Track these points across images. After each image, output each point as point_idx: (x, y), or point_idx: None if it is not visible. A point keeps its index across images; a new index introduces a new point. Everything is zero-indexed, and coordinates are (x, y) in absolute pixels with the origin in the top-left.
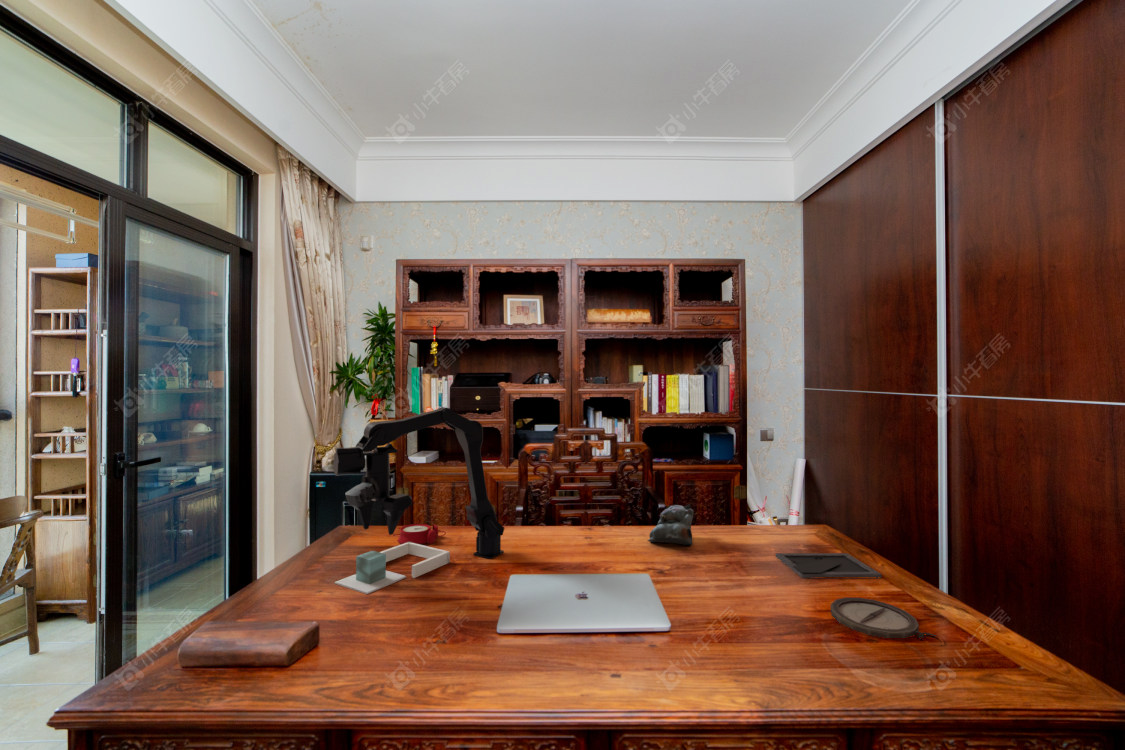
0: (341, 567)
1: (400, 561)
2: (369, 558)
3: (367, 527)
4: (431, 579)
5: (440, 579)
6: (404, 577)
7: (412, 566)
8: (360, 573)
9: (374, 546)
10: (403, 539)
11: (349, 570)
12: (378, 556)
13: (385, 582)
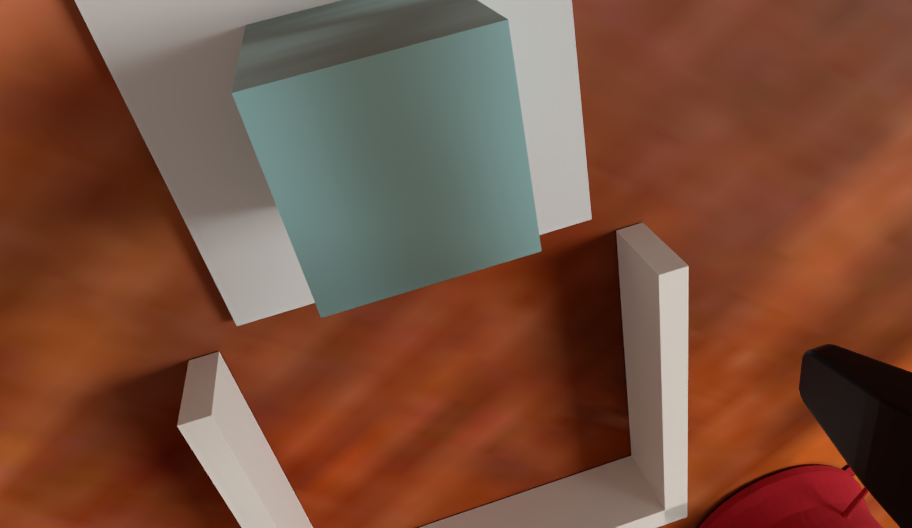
0: (815, 31)
1: (559, 386)
2: (296, 116)
3: (813, 396)
4: (80, 434)
5: (41, 475)
6: (232, 310)
7: (202, 413)
8: (388, 5)
9: (901, 351)
10: (797, 497)
11: (709, 52)
12: (297, 229)
13: (197, 155)
